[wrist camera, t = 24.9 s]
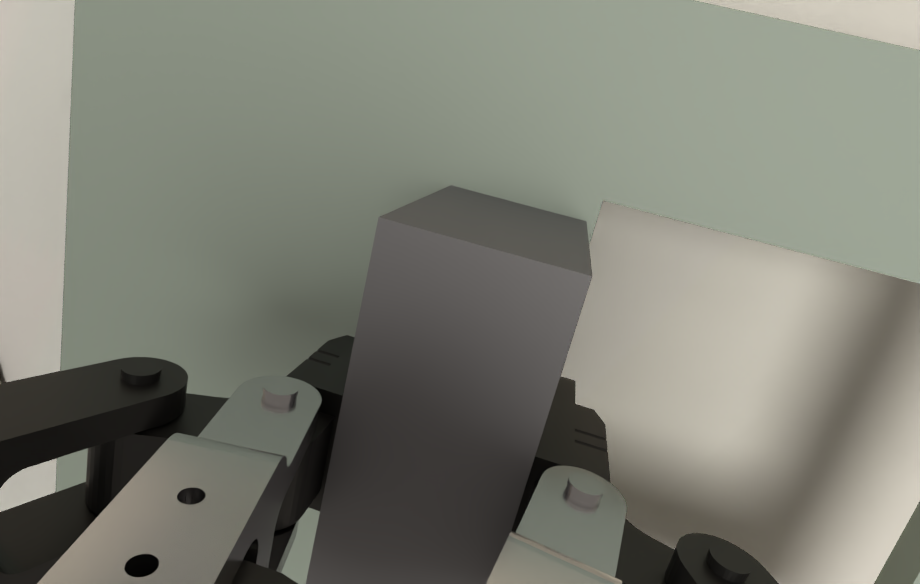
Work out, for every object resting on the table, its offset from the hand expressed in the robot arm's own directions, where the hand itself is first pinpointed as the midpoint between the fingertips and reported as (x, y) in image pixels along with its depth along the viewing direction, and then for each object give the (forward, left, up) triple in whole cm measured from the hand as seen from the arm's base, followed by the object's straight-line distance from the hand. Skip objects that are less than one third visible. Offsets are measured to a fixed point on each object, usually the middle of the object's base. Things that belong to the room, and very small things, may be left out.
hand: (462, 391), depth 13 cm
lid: (+1, 0, -2) cm, 3 cm away
